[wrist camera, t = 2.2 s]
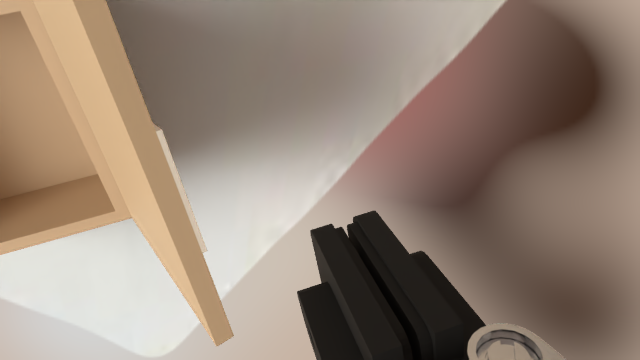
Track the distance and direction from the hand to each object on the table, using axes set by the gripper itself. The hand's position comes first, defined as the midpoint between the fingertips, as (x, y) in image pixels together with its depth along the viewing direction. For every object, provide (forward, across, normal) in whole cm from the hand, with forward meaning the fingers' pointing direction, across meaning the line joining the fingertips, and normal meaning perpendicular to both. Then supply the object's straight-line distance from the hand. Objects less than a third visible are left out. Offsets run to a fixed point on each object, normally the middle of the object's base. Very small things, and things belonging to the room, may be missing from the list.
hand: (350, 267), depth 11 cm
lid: (+12, +7, 0) cm, 14 cm away
